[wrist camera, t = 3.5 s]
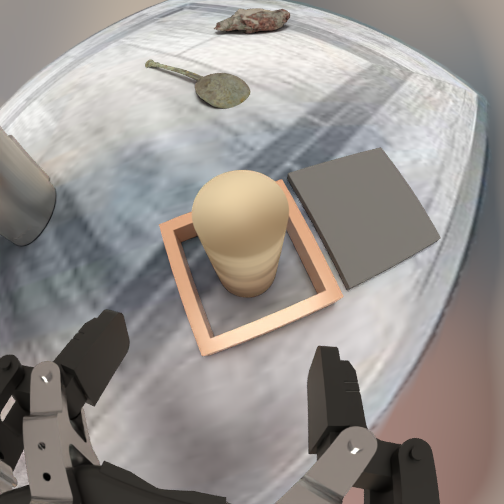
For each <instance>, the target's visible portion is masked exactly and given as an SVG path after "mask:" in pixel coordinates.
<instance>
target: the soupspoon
mask: <svg viewBox="0 0 504 504" xmlns="http://www.w3.org/2000/svg"><path fill="white" fill-rule="evenodd" d="M145 67H147V68H148V67H160V68H164V69H167V70H171V71H174V72H178V73H181V74H183V75H186V76H188V77H191V78H193V79H195V80H197V82H196V84H195V90H196V93H197V94H198V95H199V97H200V98H202V99H203V100H204V101H206V102H207V103H209V104H211V105H212V106H214V107H218V108H223V109H227V108H231V107H234V106H237V105H239V104H241V103H242V102H244V101H245V100H246V99H247V98H248V96H249V95H250V89H249V87H248V85H247V84H246V83H245V82H244V81H243V80H242V79H240V78H238V77H237V76H234V75H231V74H227V73H215V74H210V75H207V76H205V77H203V76H200V75H197V74H195V73H192V72H189V71H186V70H183V69H179V68H175V67H171V66H167V65H163V64H159V63H158V62H157V63H156V62H154V61H153V60H148V61H147V62H146V63H145Z"/></svg>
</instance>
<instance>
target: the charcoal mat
mask: <svg viewBox="0 0 504 504" xmlns="http://www.w3.org/2000/svg"><path fill="white" fill-rule="evenodd" d="M287 179H288V180H289V182H290V184H291V186H292V187H293V189H294V191H295V193H296V194H297V196H298V198H299V199H300V201H301V203H302V205H303V207H304V208H305V210H306V212H307V214H308V216H309V217H310V219H311V221H312V223H313V225H314V227H315V228H316V230H317V232H318V234H319V236H320V238H321V240H322V241H323V243H324V245H325V247H326V249H327V251H328V253H329V255H330V257H331V259H332V261H333V263H334V265H335V267H336V269H337V271H338V273H339V275H340V277H341V279H342V281H343V283H344V285H345V287H346V289H347V290H348V289H350V288H352V287H354V286H356V285H358V284H360V283H362V282H364V281H366V280H368V279H370V278H372V277H374V276H376V275H378V274H380V273H381V272H383V271H385V270H387V269H389V268H391V267H393V266H394V265H396V264H398V263H400V262H402V261H403V260H405V259H407V258H409V257H410V256H412V255H414V254H416V253H417V252H419V251H421V250H423V249H424V248H426V247H428V246H429V245H431V244H433V243H434V242H436V241H438V240H439V239H440V238H441V237H440V236H439V234H438V232H437V230H436V228H435V227H434V225H433V223H432V221H431V220H430V218H429V216H428V215H427V213H426V211H425V210H424V208H423V207H422V205H421V203H420V202H419V200H418V199H417V197H416V196H415V194H414V192H413V191H412V189H411V188H410V186H409V185H408V184H407V182H406V181H405V179H404V178H403V176H402V175H401V173H400V172H399V171H398V169H397V168H396V167H395V165H394V164H393V163H392V161H391V160H390V159H389V157H388V156H387V155H386V153H385V152H384V151H383V149H382V148H381V147H380V148H376V149H372V150H368V151H364V152H361V153H357V154H353V155H349V156H345V157H342V158H338V159H335V160H331V161H328V162H324V163H321V164H317V165H314V166H310V167H307V168H304V169H300V170H297V171H294V172H291V173H288V176H287Z"/></svg>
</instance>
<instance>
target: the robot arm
mask: <svg viewBox="0 0 504 504" xmlns="http://www.w3.org/2000/svg"><path fill="white" fill-rule="evenodd" d="M55 196H56V193H55V188H54V186H53V185H52V184H51V183H50V182H49V176H48V175H47V174H46V173H45V172H44V171H43V170H42V169H41V168H40V167H39V165H38V164H37V163H36V162H35V161H34V160H33V159H32V158H31V157H30V155H29V154H28V153H27V152H26V151H25V150H24V149H23V147H22V146H21V145H20V144H19V143H18V141H17V140H16V139H15V138H14V137H13V136H12V135H9V136H8V135H7V134H6V133H5V131H4V130H3V129H2V128H1V126H0V234H1V235H2V236H4V237H5V238H7V239H8V240H10V241H12V242H13V243H15V244H16V245H19V246H23V245H26V244H28V243H30V242H32V241H33V240H34V239H35V238H36V237H37V236H38V235H39V234H40V233H41V231H42V230H43V229H44V227H45V226H46V224H47V222H48V220H49V218H50V216H51V214H52V211H53V208H54V204H55ZM129 344H130V341H129V336H128V332H127V328H126V324H125V320H124V316H123V314H122V313H120V312H116V311H112V310H108V309H106V310H104V311H103V312H102V313H101V314H100V315H99V316H98V318H93V319H92V320H90V321H88V322H87V323H85V324H84V325H83V327H82V328H81V329H80V330H79V332H78V333H77V334H76V335H75V336H74V337H73V339H71V341H70V342H69V343H68V344H67V345H66V347H65V348H64V349H63V350H62V351H61V353H60V354H59V355H58V356H57V358H56V359H55V360H54V361H53V362H51V361H45V362H41V363H39V364H38V365H36V366H35V367H28V366H23V365H21V364H20V362H19V360H18V358H17V357H16V356H14V355H5V356H3V357H1V358H0V414H1V411H2V409H3V408H4V406H5V405H6V403H7V401H8V400H9V398H10V397H11V395H12V397H13V398H14V399H15V400H16V401H15V403H14V405H13V406H12V408H11V409H10V411H9V413H8V414H7V416H6V418H5V419H4V421H3V422H2V421H1V418H0V504H231V503H228V502H226V497H221V496H215V495H210V494H205V493H200V492H195V491H179V490H164V489H158V488H156V487H154V486H153V485H151V484H149V483H147V482H146V481H144V480H143V479H141V478H139V477H138V476H136V475H135V474H133V473H132V472H130V471H127V470H125V469H122V468H120V467H118V466H115V465H113V464H111V463H108V462H106V461H104V462H103V464H102V466H101V465H100V463H99V460H98V458H97V456H96V454H95V452H94V450H93V448H92V446H91V442H90V437H89V433H88V428H87V423H86V418H85V412H84V409H83V406H84V404H85V402H86V403H88V404H90V405H92V406H94V407H95V405H96V403H97V401H98V400H99V398H100V396H101V395H102V393H103V391H104V390H105V388H106V386H107V385H108V383H109V381H110V380H111V378H112V376H113V375H114V373H115V371H116V370H117V368H118V366H119V365H120V363H121V362H122V360H123V358H124V357H125V355H126V354H127V352H128V349H129ZM359 391H360V389H359V385H358V380H357V375H356V370H355V369H354V368H353V366H352V365H351V364H350V362H349V361H344V360H340V356H339V351H338V348H337V347H328V346H318V347H317V349H316V352H315V355H314V358H313V361H312V364H311V367H310V370H309V374H308V380H307V394H308V454H317V462H316V463H315V464H314V465H313V466H312V467H311V469H310V470H309V471H308V472H307V473H306V474H305V475H304V476H303V477H302V478H301V479H300V480H299V481H298V482H297V483H296V484H295V485H294V486H293V487H292V488H291V489H290V490H289V491H288V492H287V493H286V494H285V495H283V496H282V497H281V498H280V499H279V500H278V501H277V502H276V503H275V504H342V500H343V498H344V496H345V495H346V494H347V492H348V491H349V490H350V488H351V487H356V488H362V489H364V504H440V500H439V491H438V483H437V477H436V470H435V465H434V459H433V454H432V450H431V447H430V446H429V444H428V443H427V442H425V441H424V440H422V439H419V438H412V439H409V440H407V441H405V442H404V443H403V444H402V445H401V444H395V443H390V442H385V441H381V440H379V439H377V438H376V437H375V436H374V434H373V433H372V432H371V431H369V430H368V428H367V426H366V422H365V416H364V410H363V405H362V400H361V395H360V393H359ZM23 450H24V452H25V460H26V468H27V475H28V480H29V485H26V486H23V487H20V488H16V489H13V490H12V487H16V486H17V484H18V482H17V479H16V478H15V477H14V475H13V471H14V469H15V466H16V464H17V462H18V460H19V458H20V456H21V454H22V452H23Z"/></svg>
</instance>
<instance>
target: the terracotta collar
mask: <svg viewBox="0 0 504 504" xmlns="http://www.w3.org/2000/svg"><path fill="white" fill-rule="evenodd" d="M275 182H276V183H277V184H278V185H279V186H280V187H281V189H282V190H283V192H284V193H285V195H286V198H287V201H288V205H289V218H288V223H287V227H286V230H287V232H288V234H289V236H290V238H291V240H292V242H293V244H294V246H295V248H296V250H297V252H298V254H299V256H300V258H301V260H302V262H303V264H304V267H305V269H306V271H307V273H308V275H309V277H310V279H311V281H312V283H313V285H314V287H315V290H316V292H317V295H315V296H313V297H310V298H308V299H306V300H304V301H301V302H299V303H297V304H295V305H292V306H290V307H288V308H285V309H283V310H281V311H278V312H276V313H274V314H271V315H269V316H266V317H264V318H262V319H259V320H257V321H254V322H252V323H249V324H247V325H244V326H242V327H239V328H237V329H234V330H231V331H229V332H226V333H224V334H221V335H218V336H216V337H214V335H213V332H212V329H211V327H210V324H209V322H208V319H207V316H206V314H205V311H204V308H203V305H202V303H201V300H200V297H199V294H198V292H197V289H196V286H195V283H194V280H193V277H192V274H191V271H190V268H189V265H188V262H187V259H186V256H185V253H184V250H183V247H182V244H181V242H183V241H185V240H188V239H190V238H193V237H195V236H198V234H197V232H196V230H195V228H194V225H193V221H192V212H189V213H187V214H184V215H182V216H179V217H177V218H174V219H172V220H169V221H167V222H164V223H162V224H159V226H160V230H161V233H162V237H163V241H164V244H165V248H166V251H167V254H168V258H169V261H170V265H171V268H172V271H173V274H174V277H175V281H176V284H177V287H178V290H179V293H180V296H181V299H182V302H183V305H184V308H185V311H186V314H187V317H188V319H189V322H190V325H191V328H192V330H193V333H194V336H195V339H196V341H197V344H198V346H199V349H200V352H201V354H202V356H209V355H212V354H215V353H217V352H220V351H223V350H226V349H228V348H231V347H233V346H236V345H239V344H241V343H244V342H246V341H249V340H251V339H254V338H256V337H259V336H261V335H264V334H266V333H269V332H271V331H273V330H276V329H278V328H280V327H283V326H285V325H287V324H290V323H292V322H294V321H297V320H299V319H301V318H303V317H305V316H308V315H310V314H312V313H314V312H316V311H318V310H321V309H323V308H325V307H327V306H329V305H331V304H333V303H335V302H337V301H338V300H340V299H341V298H343V295H342V293H341V290H340V288H339V286H338V284H337V282H336V280H335V278H334V276H333V274H332V272H331V270H330V268H329V266H328V264H327V262H326V260H325V258H324V256H323V254H322V252H321V250H320V248H319V246H318V244H317V242H316V241H315V239H314V237H313V235H312V233H311V231H310V229H309V227H308V225H307V224H306V222H305V220H304V218H303V216H302V214H301V213H300V211H299V209H298V207H297V205H296V203H295V202H294V200H293V198H292V196H291V195H290V193H289V191H288V189H287V187H286V186H285V184H284V182H283V181H282V180H279V181H275Z"/></svg>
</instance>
